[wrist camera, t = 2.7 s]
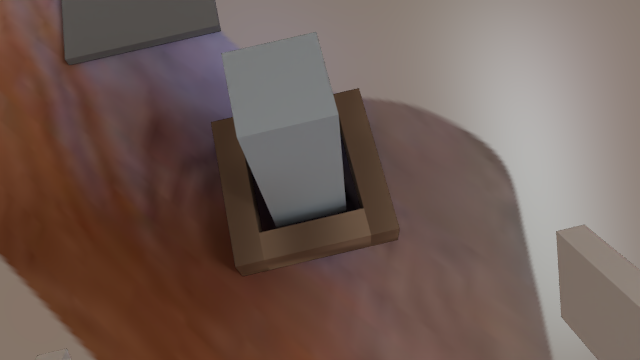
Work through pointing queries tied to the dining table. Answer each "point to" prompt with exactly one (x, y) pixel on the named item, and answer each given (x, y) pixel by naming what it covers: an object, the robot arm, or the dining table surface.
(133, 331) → the dining table surface
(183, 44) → the dining table surface
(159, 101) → the dining table surface
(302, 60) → the slate block
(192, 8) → the rubber pad
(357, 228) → the frame
